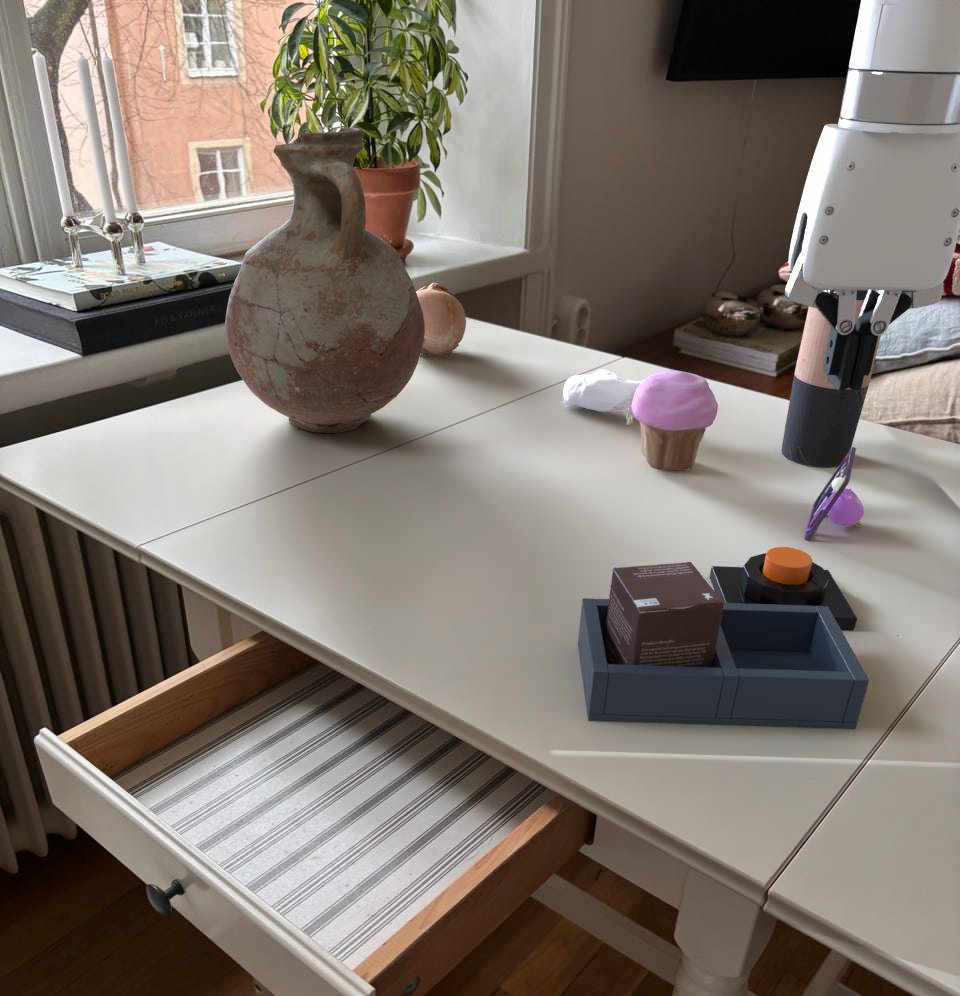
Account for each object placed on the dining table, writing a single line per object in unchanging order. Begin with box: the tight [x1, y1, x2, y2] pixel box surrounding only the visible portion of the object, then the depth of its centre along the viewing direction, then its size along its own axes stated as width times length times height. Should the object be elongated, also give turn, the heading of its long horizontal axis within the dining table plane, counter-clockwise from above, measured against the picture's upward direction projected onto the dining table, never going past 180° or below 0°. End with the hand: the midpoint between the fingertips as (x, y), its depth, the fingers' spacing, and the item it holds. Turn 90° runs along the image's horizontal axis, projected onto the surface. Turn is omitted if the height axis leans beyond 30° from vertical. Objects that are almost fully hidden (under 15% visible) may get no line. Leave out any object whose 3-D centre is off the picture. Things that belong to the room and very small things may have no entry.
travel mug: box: [781, 289, 882, 468], centre depth 104 cm, size 8×8×20 cm
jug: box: [224, 127, 425, 434], centre depth 106 cm, size 22×22×30 cm
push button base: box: [709, 552, 858, 632], centre depth 81 cm, size 10×8×3 cm
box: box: [604, 561, 724, 667], centre depth 69 cm, size 6×6×7 cm
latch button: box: [762, 546, 813, 585], centre depth 79 cm, size 4×4×2 cm
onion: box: [415, 282, 467, 358], centre depth 134 cm, size 10×9×10 cm
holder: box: [577, 597, 870, 730], centre depth 70 cm, size 18×10×4 cm, turn 89°
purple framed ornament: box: [804, 446, 865, 542], centre depth 92 cm, size 7×5×9 cm
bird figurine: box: [561, 369, 643, 426], centre depth 117 cm, size 5×7×10 cm
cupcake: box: [632, 369, 719, 471], centre depth 103 cm, size 9×9×10 cm
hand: (843, 384), depth 73 cm, fingers closed
